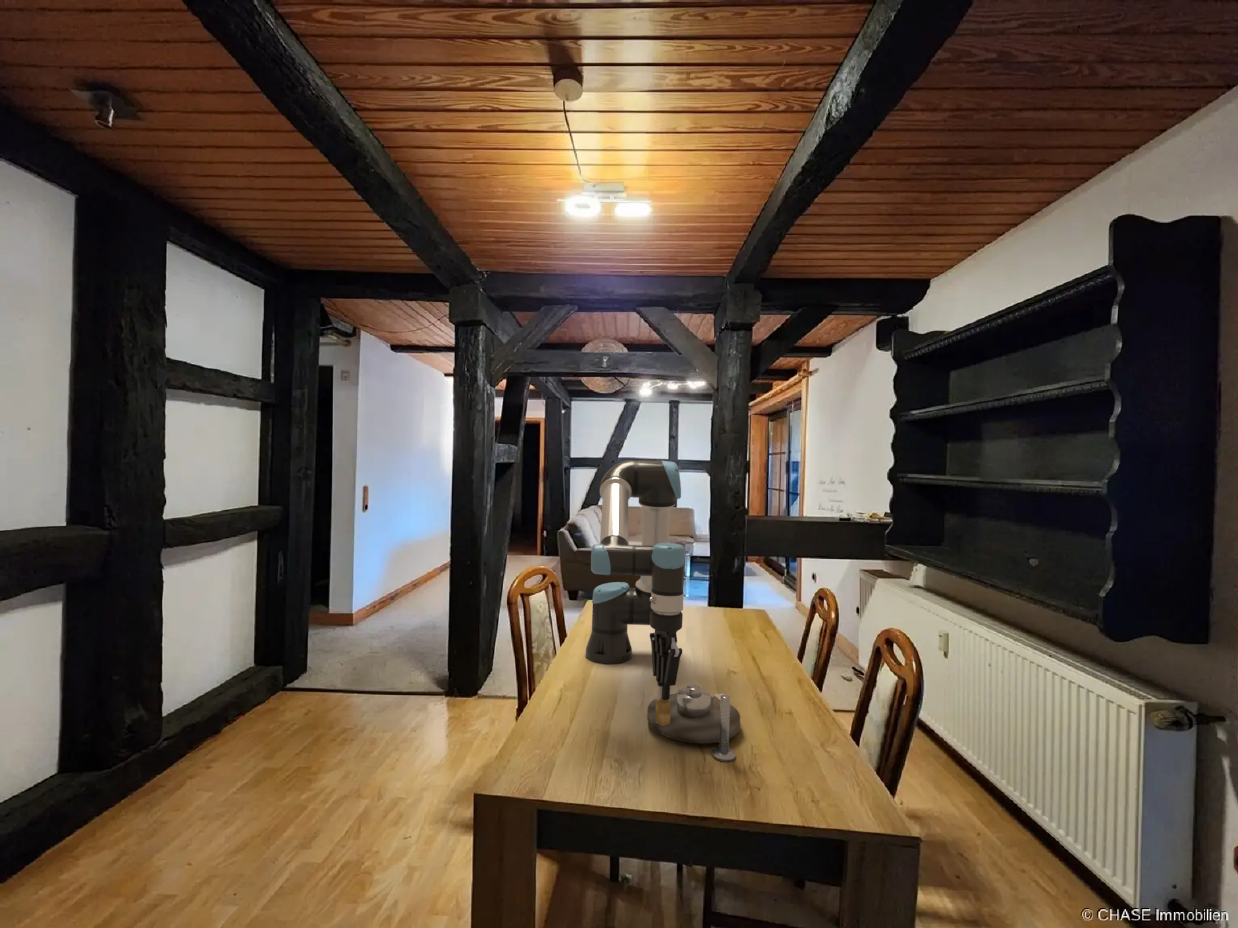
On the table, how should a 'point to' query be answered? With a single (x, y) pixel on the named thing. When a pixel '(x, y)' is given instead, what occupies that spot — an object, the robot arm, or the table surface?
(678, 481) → the robot arm
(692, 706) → the cover
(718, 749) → the dial post
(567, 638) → the table surface
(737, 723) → the turntable
